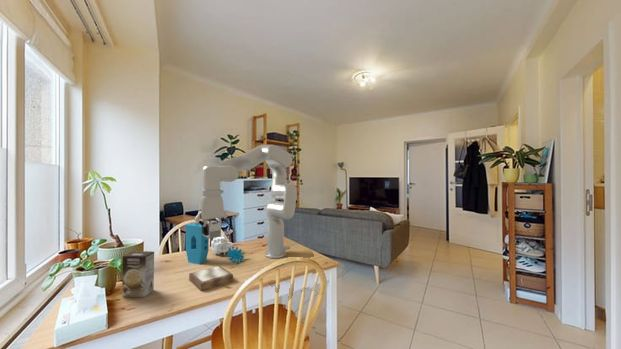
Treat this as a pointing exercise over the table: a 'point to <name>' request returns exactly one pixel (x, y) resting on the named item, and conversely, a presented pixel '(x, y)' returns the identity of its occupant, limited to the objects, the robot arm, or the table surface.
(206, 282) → the stand
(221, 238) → the mechanical part
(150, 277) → the coffee box
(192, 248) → the block
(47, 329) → the table surface
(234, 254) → the gear
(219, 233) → the block
